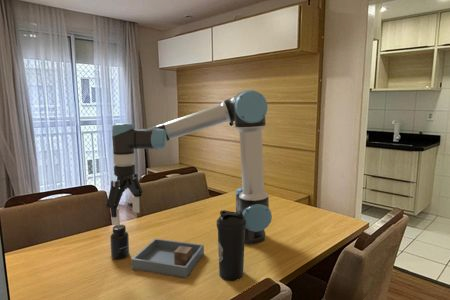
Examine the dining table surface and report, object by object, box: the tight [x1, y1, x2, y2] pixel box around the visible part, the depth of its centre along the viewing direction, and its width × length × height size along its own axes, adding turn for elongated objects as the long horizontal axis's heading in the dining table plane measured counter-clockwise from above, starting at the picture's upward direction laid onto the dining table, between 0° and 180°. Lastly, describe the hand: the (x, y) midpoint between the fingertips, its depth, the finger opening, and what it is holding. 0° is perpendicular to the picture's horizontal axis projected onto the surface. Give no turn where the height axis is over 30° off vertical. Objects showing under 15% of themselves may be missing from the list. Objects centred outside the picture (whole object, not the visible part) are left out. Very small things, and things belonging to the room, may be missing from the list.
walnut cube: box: [174, 246, 192, 266], centre depth 113 cm, size 5×5×5 cm
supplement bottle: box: [110, 224, 130, 260], centre depth 119 cm, size 7×7×12 cm
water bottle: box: [216, 209, 246, 282], centre depth 104 cm, size 10×10×23 cm
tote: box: [130, 238, 205, 279], centre depth 114 cm, size 22×18×4 cm
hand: (126, 218), depth 116 cm, fingers open, 13 cm apart
